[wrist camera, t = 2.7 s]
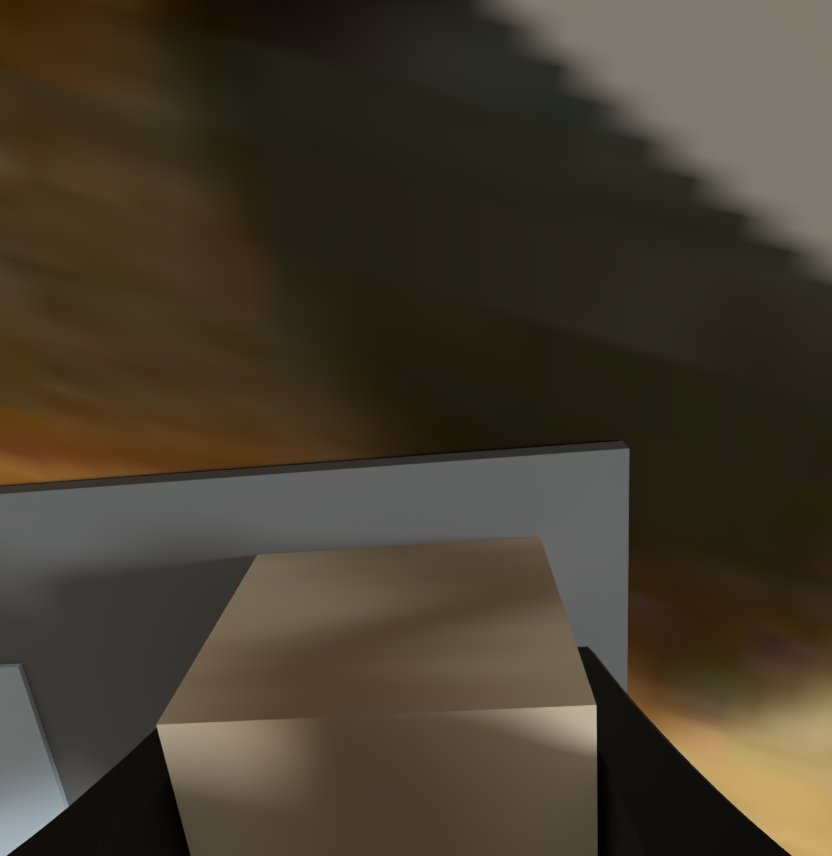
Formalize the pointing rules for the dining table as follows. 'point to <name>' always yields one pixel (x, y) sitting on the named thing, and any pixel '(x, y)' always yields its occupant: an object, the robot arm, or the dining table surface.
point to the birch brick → (388, 709)
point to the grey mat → (227, 566)
